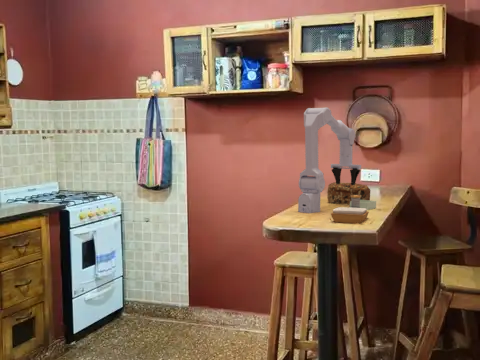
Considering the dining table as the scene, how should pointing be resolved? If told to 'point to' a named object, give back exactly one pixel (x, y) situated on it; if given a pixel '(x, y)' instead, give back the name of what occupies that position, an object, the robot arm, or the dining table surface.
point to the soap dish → (349, 215)
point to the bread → (346, 192)
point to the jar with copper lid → (355, 201)
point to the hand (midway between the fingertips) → (345, 184)
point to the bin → (367, 204)
